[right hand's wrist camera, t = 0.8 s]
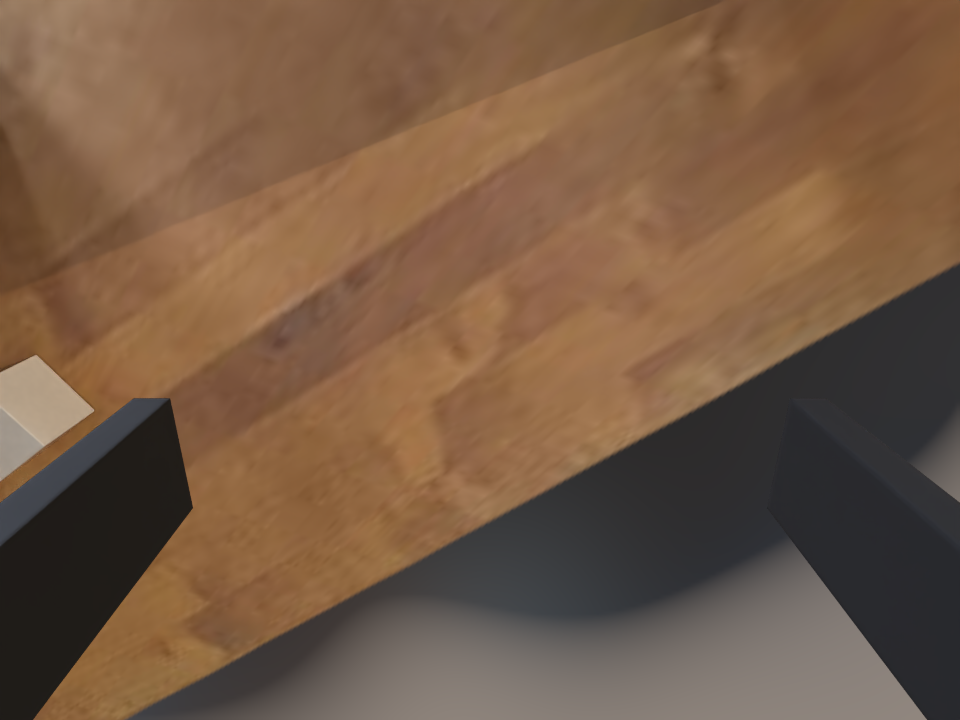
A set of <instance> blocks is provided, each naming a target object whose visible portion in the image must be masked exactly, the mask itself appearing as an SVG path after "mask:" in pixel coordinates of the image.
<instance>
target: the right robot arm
mask: <svg viewBox="0 0 960 720" xmlns="http://www.w3.org/2000/svg"><path fill="white" fill-rule="evenodd" d="M192 509H193V506H192V501H191V496H190V491H189V487H188V482H187V477H186V472H185V468H184V463H183V458H182V453H181V448H180V444H179V439H178V434H177V429H176V425H175V420H174V415H173V410H172V406H171V401H170V398H134V399H132V400H131V401H130V402H129V403H127V404H126V405H125V406H124V407H122V408H121V409H120V410H118V411H117V412H116V413H115V414H113V415H112V416H111V417H109V418H108V419H107V420H106V421H104V422H103V423H102V424H100V425H99V426H98V427H97V428H95V429H94V430H93V431H92V432H90V433H89V434H88V435H86V436H85V437H84V438H83V439H81V440H80V441H79V442H77V443H76V444H75V445H74V446H72V447H71V448H70V449H68V450H67V451H66V452H65V453H63V454H62V455H61V456H60V457H58V458H57V459H56V460H54V461H53V462H52V463H51V464H49V465H48V466H47V467H45V468H44V469H43V470H42V471H40V472H39V473H38V474H36V475H35V476H34V477H33V478H31V479H30V480H29V481H27V482H26V483H25V484H24V485H22V486H21V487H20V488H19V489H17V490H16V491H15V492H13V493H12V494H11V495H10V496H8V497H7V498H6V499H4V500H3V501H2V502H1V503H0V720H33V719H34V718H35V716H36V715H37V714H38V712H39V711H40V710H41V708H42V707H43V706H44V704H45V703H46V702H47V700H48V699H49V698H50V696H51V695H52V694H53V692H54V691H55V690H56V688H57V687H58V686H59V684H60V683H61V682H62V681H63V679H64V678H65V677H66V675H67V674H68V673H69V671H70V670H71V669H72V667H73V666H74V665H75V663H76V662H77V661H78V659H79V658H80V657H81V655H82V654H83V653H84V651H85V650H86V649H87V647H88V646H89V645H90V643H91V642H92V641H93V640H94V638H95V637H96V636H97V634H98V633H99V632H100V630H101V629H102V628H103V626H104V625H105V624H106V622H107V621H108V620H109V618H110V617H111V616H112V614H113V613H114V612H115V610H116V609H117V608H118V606H119V605H120V604H121V602H122V601H123V600H124V598H125V597H126V596H127V595H128V593H129V592H130V591H131V589H132V588H133V587H134V585H135V584H136V583H137V581H138V580H139V579H140V577H141V576H142V575H143V573H144V572H145V571H146V569H147V568H148V567H149V565H150V564H151V563H152V561H153V560H154V559H155V557H156V556H157V555H158V554H159V552H160V551H161V550H162V548H163V547H164V546H165V544H166V543H167V542H168V540H169V539H170V538H171V536H172V535H173V534H174V532H175V531H176V530H177V528H178V527H179V526H180V524H181V523H182V522H183V520H184V519H185V518H186V516H187V515H188V514H189V512H190V511H191V510H192ZM767 509H768V510H769V511H770V512H771V514H772V515H773V516H774V518H775V519H776V520H777V522H778V523H779V524H780V526H781V527H782V528H783V530H784V531H785V532H786V534H787V535H788V536H789V538H790V539H791V540H792V542H793V543H794V544H795V546H796V547H797V548H798V549H799V551H800V552H801V553H802V555H803V556H804V557H805V559H806V560H807V561H808V563H809V564H810V565H811V567H812V568H813V569H814V571H815V572H816V573H817V575H818V576H819V577H820V579H821V580H822V581H823V583H824V584H825V585H826V587H827V588H828V589H829V591H830V592H831V593H832V595H833V596H834V597H835V598H836V600H837V601H838V602H839V604H840V605H841V606H842V608H843V609H844V610H845V612H846V613H847V614H848V616H849V617H850V618H851V620H852V621H853V622H854V624H855V625H856V626H857V628H858V629H859V630H860V632H861V633H862V634H863V636H864V637H865V638H866V639H867V641H868V642H869V643H870V645H871V646H872V647H873V649H874V650H875V651H876V653H877V654H878V655H879V657H880V658H881V659H882V661H883V662H884V663H885V665H886V666H887V667H888V669H889V670H890V671H891V673H892V674H893V675H894V677H895V678H896V679H897V681H898V682H899V683H900V685H901V686H902V687H903V688H904V690H905V691H906V692H907V694H908V695H909V696H910V698H911V699H912V700H913V702H914V703H915V704H916V706H917V707H918V708H919V710H920V711H921V712H922V714H923V715H924V716H925V718H926V719H927V720H960V503H959V502H958V501H957V500H956V499H954V498H953V497H952V496H950V495H949V494H948V493H947V492H945V491H944V490H943V489H941V488H940V487H939V486H938V485H936V484H935V483H934V482H932V481H931V480H930V479H929V478H927V477H926V476H925V475H923V474H922V473H921V472H920V471H918V470H917V469H916V468H915V467H913V466H912V465H911V464H909V463H908V462H907V461H906V460H904V459H903V458H902V457H900V456H899V455H898V454H897V453H895V452H894V451H893V450H892V449H890V448H889V447H888V446H886V445H885V444H884V443H883V442H881V441H880V440H879V439H877V438H876V437H875V436H874V435H872V434H871V433H870V432H868V431H867V430H866V429H865V428H863V427H862V426H861V425H859V424H858V423H857V422H856V421H854V420H853V419H852V418H851V417H849V416H848V415H847V414H845V413H844V412H843V411H842V410H840V409H839V408H838V407H836V406H835V405H834V404H833V403H831V402H830V401H829V400H827V399H826V398H790V401H789V406H788V410H787V415H786V420H785V425H784V429H783V434H782V439H781V444H780V448H779V453H778V458H777V463H776V468H775V472H774V477H773V482H772V487H771V491H770V496H769V501H768V506H767Z"/></svg>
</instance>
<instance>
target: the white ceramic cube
mask: <svg viewBox="0 0 960 720" xmlns="http://www.w3.org/2000/svg"><path fill="white" fill-rule="evenodd" d="M93 412H94V409H93V408H92V407H91V406H90V405H89V404H88V403H87V402H86V401H84V400H83V399H82V398H81V397H80V396H79V395H78V394H77V393H76V392H75V391H74V390H73V389H72V388H71V387H70V386H69V385H68V384H67V383H66V382H65V381H63V380H62V379H61V378H60V377H59V376H58V375H57V374H56V373H55V372H54V371H53V370H52V369H51V368H50V367H49V366H48V365H47V364H46V363H45V362H44V361H42V360H41V359H40V358H39V357H38V356H37V355H34V356H32V357H30V358H28V359H26V360H24V361H22V362H20V363H18V364H16V365H14V366H12V367H10V368H7V369H5V370H3V371H1V372H0V482H1V481H2V480H4V479H5V478H7V477H8V476H9V475H11V474H12V473H14V472H15V471H16V470H18V469H19V468H20V467H22V466H23V465H25V464H26V463H27V462H29V461H30V460H32V459H33V458H34V457H36V456H37V455H38V454H40V453H41V452H43V451H44V450H45V449H47V448H48V447H49V446H51V445H52V444H53V443H54V442H56V441H57V440H58V439H60V438H61V437H62V436H63V435H65V434H66V433H67V432H69V431H70V430H71V429H72V428H74V427H75V426H76V425H77V424H79V423H80V422H81V421H83V420H84V419H85V418H86V417H88V416H89V415H90V414H91V413H93Z"/></svg>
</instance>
